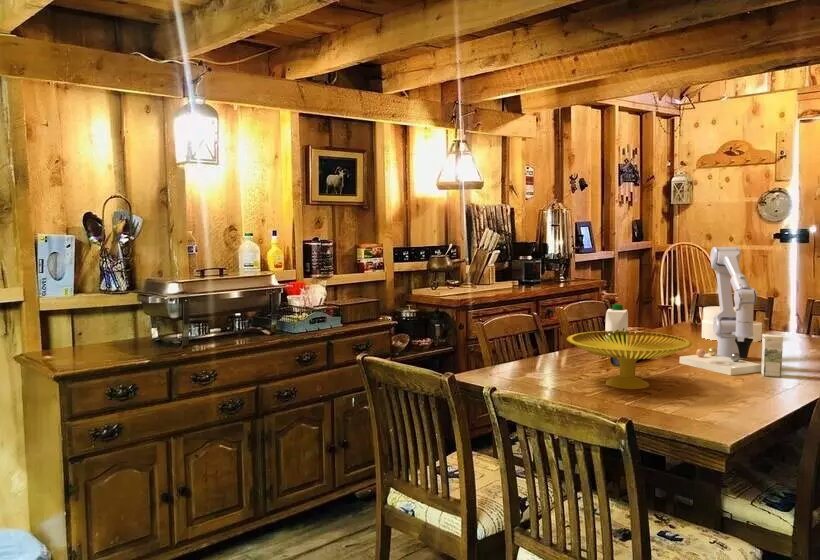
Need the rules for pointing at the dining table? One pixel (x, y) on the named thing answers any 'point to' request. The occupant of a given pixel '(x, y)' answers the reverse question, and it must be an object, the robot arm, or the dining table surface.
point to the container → (708, 325)
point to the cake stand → (628, 352)
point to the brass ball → (712, 351)
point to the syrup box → (771, 355)
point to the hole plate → (720, 364)
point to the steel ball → (735, 357)
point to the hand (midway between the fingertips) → (743, 358)
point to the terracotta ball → (700, 352)
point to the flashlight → (617, 361)
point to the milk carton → (616, 321)
